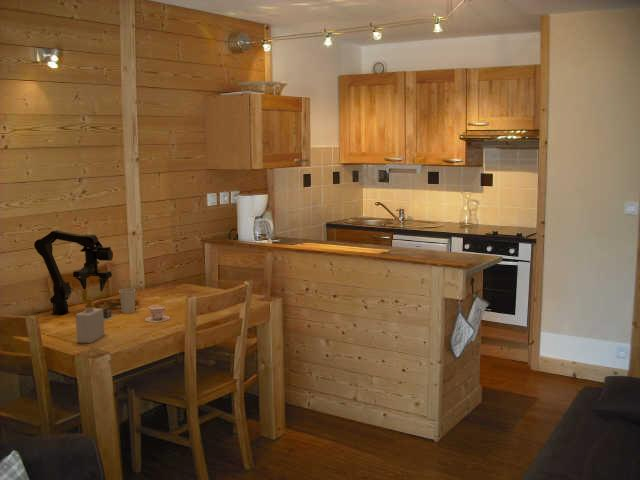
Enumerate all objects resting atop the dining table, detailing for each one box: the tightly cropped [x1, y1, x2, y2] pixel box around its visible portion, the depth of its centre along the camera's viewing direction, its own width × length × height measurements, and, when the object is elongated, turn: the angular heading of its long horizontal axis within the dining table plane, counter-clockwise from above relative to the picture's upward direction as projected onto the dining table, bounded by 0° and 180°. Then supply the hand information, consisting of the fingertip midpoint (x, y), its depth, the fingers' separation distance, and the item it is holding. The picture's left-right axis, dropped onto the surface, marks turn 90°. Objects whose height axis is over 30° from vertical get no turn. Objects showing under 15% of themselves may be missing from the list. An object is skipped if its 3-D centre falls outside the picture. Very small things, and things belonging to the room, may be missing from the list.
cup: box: [118, 288, 136, 314], centre depth 351 cm, size 8×8×12 cm
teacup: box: [144, 304, 171, 323], centre depth 341 cm, size 12×12×6 cm
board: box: [104, 314, 118, 322], centre depth 339 cm, size 12×18×1 cm, turn 166°
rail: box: [98, 306, 109, 316], centre depth 338 cm, size 4×15×4 cm, turn 166°
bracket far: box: [103, 309, 112, 318], centre depth 342 cm, size 9×4×3 cm, turn 76°
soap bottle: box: [75, 286, 105, 344], centre depth 307 cm, size 12×7×23 cm, turn 167°
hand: (93, 291), depth 349 cm, fingers open, 9 cm apart
